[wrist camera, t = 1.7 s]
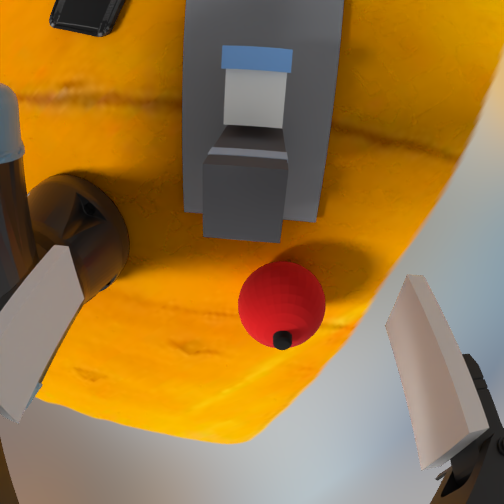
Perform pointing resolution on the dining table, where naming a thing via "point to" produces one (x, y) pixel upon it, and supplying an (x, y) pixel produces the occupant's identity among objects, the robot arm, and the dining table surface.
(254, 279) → the ornament
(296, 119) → the grey plate with blocks
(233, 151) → the plug
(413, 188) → the dining table surface
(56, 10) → the phone
